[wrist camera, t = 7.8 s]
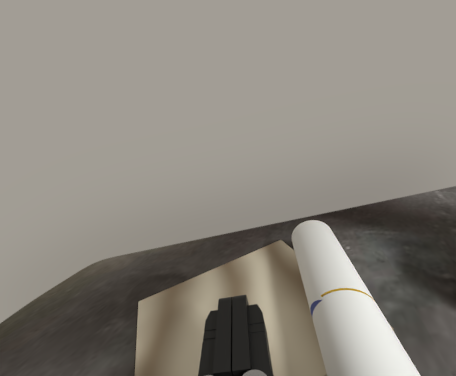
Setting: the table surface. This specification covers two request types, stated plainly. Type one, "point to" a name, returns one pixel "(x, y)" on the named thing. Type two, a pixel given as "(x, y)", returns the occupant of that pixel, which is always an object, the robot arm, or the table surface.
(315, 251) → the tube
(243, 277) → the birch board
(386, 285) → the table surface
